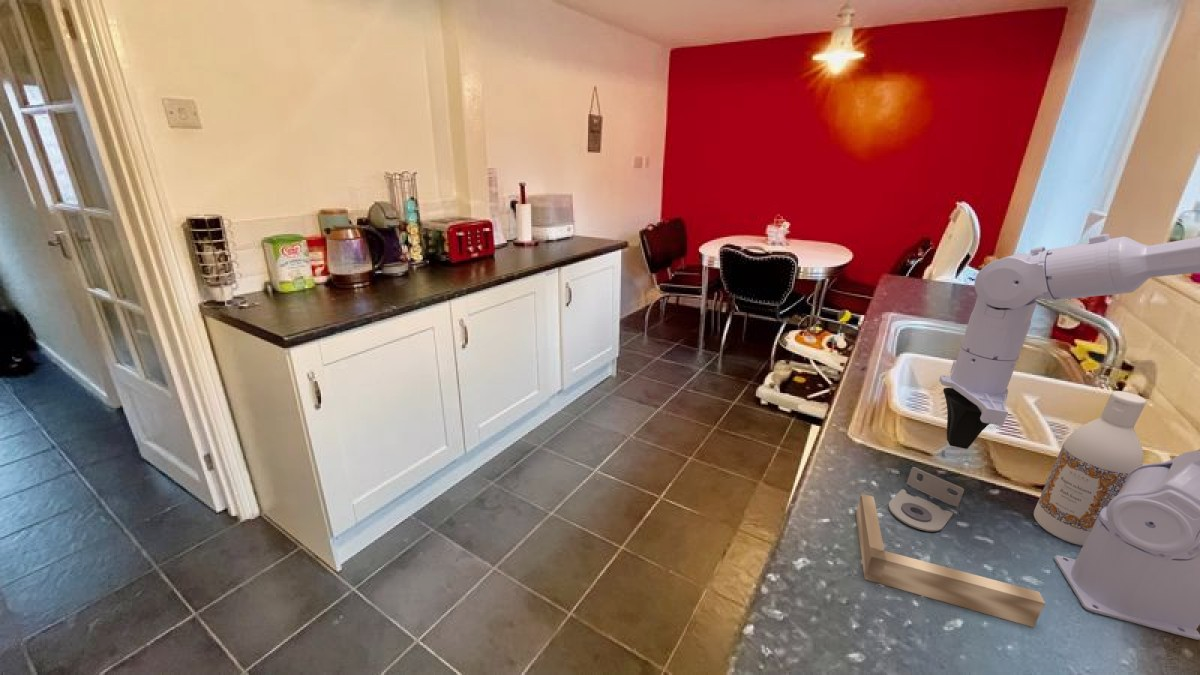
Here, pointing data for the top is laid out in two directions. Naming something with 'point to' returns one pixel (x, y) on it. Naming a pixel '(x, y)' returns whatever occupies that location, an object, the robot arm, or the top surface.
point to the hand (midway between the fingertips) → (957, 444)
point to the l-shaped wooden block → (940, 577)
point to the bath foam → (1091, 469)
